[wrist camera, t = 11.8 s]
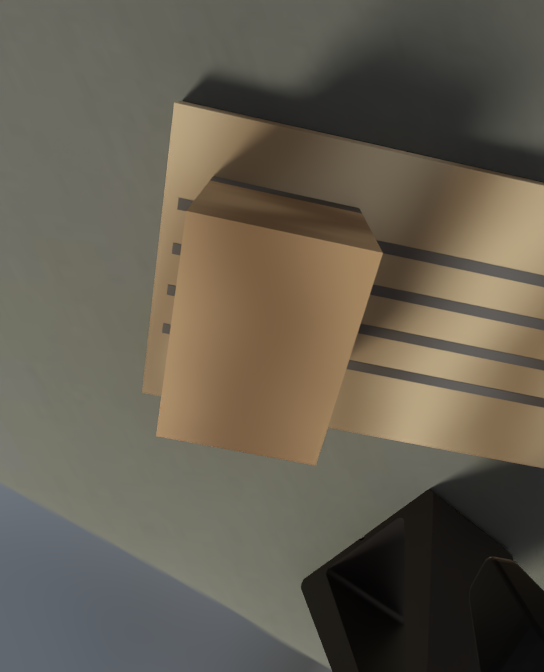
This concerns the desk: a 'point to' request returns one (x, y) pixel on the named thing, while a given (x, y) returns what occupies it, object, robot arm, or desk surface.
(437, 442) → the pine board
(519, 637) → the robot arm
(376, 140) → the desk surface
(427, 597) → the phone stand
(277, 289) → the block
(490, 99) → the desk surface
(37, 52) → the desk surface
